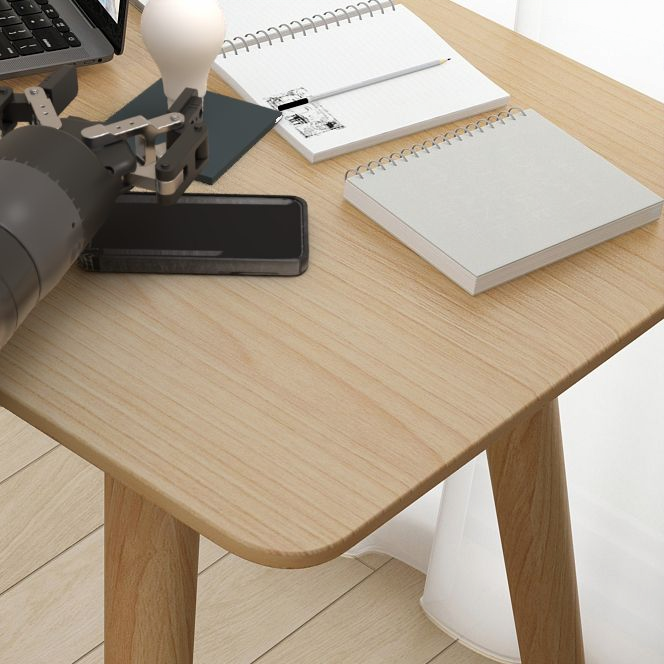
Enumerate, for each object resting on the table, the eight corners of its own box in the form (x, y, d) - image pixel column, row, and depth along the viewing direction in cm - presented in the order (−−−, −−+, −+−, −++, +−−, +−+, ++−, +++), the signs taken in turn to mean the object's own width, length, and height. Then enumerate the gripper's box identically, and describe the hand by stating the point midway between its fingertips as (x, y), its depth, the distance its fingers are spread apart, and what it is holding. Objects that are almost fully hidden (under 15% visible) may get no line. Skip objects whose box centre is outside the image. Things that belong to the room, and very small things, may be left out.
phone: (89, 190, 82) (307, 195, 83) (90, 203, 83) (306, 208, 84) (74, 258, 76) (309, 262, 77) (75, 272, 77) (308, 276, 78)
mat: (83, 144, 89) (82, 137, 89) (161, 83, 97) (161, 77, 97) (212, 185, 86) (211, 177, 86) (282, 118, 94) (282, 111, 93)
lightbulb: (226, 106, 94) (226, -30, 87) (225, 146, 89) (225, 6, 82) (148, 104, 93) (141, -32, 86) (142, 145, 88) (135, 4, 81)
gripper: (134, 188, 63) (234, 55, 75) (-109, 139, 66) (26, 18, 78) (141, 299, 68) (234, 157, 80) (-85, 250, 71) (39, 119, 83)
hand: (132, 89), depth 79 cm, fingers open, 8 cm apart
